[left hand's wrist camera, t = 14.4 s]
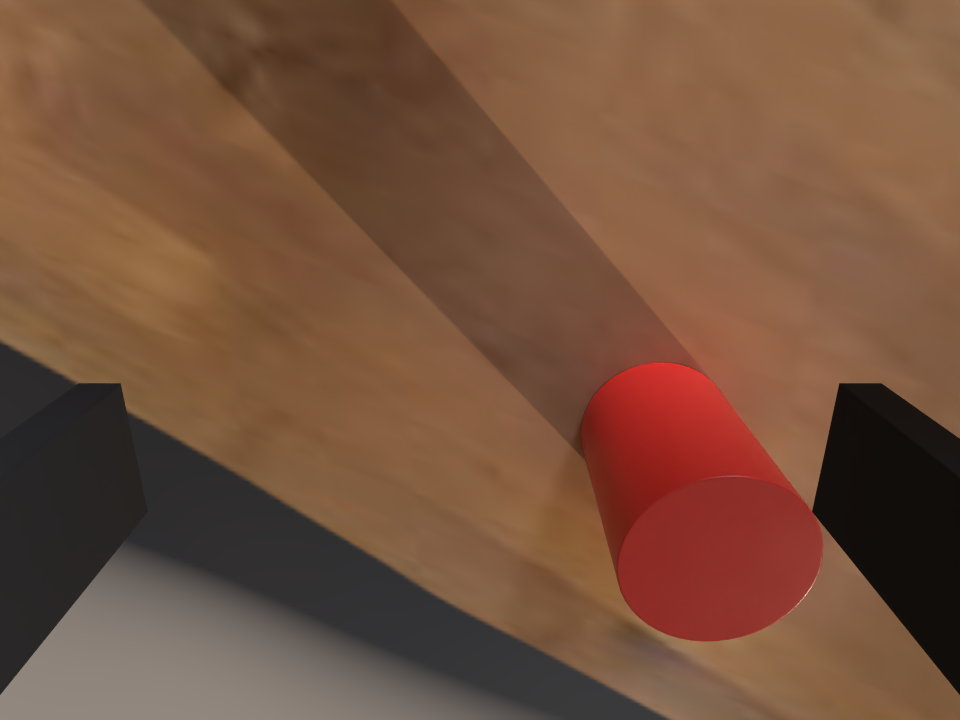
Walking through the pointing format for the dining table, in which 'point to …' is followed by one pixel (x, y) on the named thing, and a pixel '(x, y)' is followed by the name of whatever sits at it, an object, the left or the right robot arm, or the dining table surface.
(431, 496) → the dining table surface
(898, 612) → the left robot arm
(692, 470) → the cylinder
